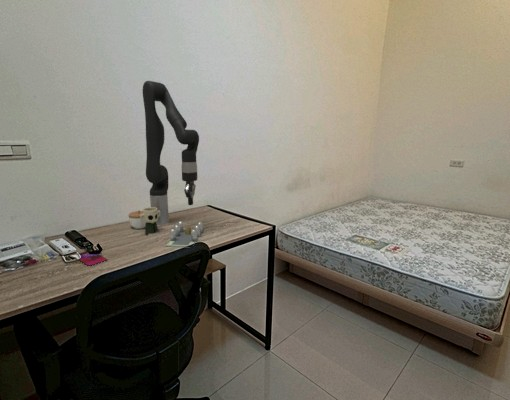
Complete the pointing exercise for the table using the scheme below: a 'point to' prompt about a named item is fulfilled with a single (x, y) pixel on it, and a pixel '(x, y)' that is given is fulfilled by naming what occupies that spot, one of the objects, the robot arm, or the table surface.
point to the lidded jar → (136, 220)
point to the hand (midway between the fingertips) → (190, 204)
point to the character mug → (150, 219)
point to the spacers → (179, 229)
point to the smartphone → (91, 258)
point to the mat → (181, 240)
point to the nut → (188, 230)
